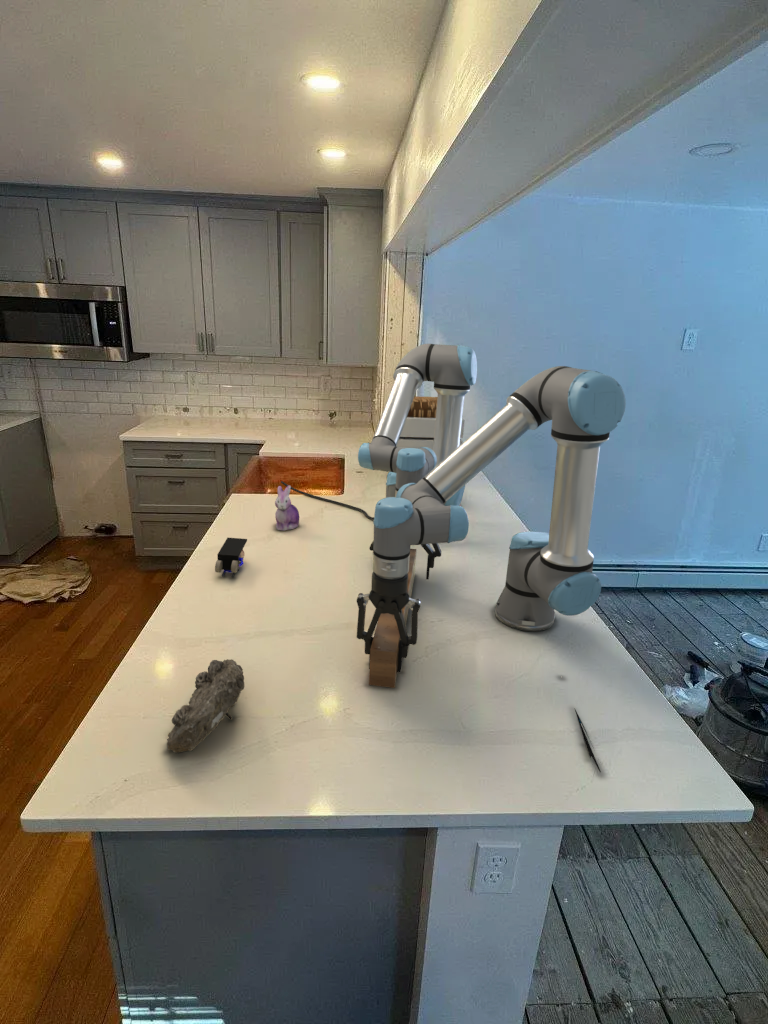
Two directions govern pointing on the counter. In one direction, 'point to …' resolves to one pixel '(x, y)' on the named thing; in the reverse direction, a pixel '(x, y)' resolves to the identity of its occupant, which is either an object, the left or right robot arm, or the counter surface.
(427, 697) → the counter surface
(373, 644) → the bar
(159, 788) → the counter surface
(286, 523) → the figurine
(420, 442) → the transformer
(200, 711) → the fossil
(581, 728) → the feather
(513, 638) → the counter surface
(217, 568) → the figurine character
